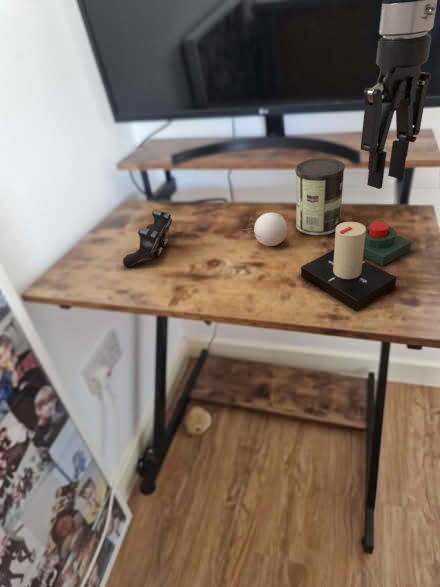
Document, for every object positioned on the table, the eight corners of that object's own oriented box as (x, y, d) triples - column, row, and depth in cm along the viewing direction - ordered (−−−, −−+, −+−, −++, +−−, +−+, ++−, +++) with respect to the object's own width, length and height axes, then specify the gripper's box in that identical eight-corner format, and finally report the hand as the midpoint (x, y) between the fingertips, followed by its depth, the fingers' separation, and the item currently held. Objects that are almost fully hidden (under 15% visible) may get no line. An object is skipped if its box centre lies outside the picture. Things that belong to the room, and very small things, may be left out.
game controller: (147, 280, 90) (159, 246, 83) (119, 267, 89) (128, 232, 83) (170, 242, 102) (182, 210, 95) (145, 231, 101) (155, 198, 95)
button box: (409, 251, 82) (412, 233, 79) (382, 266, 79) (385, 248, 76) (370, 233, 89) (372, 217, 86) (344, 247, 86) (345, 230, 84)
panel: (395, 288, 73) (397, 276, 72) (356, 311, 69) (357, 299, 68) (337, 257, 83) (338, 246, 81) (300, 277, 79) (300, 265, 78)
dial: (346, 260, 77) (349, 217, 72) (367, 271, 74) (372, 226, 68) (327, 271, 76) (329, 227, 70) (347, 282, 72) (351, 237, 66)
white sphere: (290, 236, 92) (290, 206, 88) (284, 253, 87) (283, 223, 82) (248, 234, 95) (245, 205, 91) (240, 250, 90) (236, 221, 85)
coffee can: (335, 212, 98) (339, 155, 90) (344, 233, 90) (349, 172, 82) (293, 216, 99) (292, 160, 91) (298, 237, 91) (298, 177, 83)
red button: (391, 233, 81) (392, 226, 80) (379, 240, 80) (380, 232, 79) (376, 227, 84) (377, 220, 83) (364, 233, 82) (365, 226, 81)
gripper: (384, 46, 55) (367, 203, 69) (465, 24, 62) (434, 172, 76) (343, 45, 60) (335, 191, 74) (421, 25, 67) (400, 162, 81)
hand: (385, 181), depth 75 cm, fingers open, 5 cm apart
